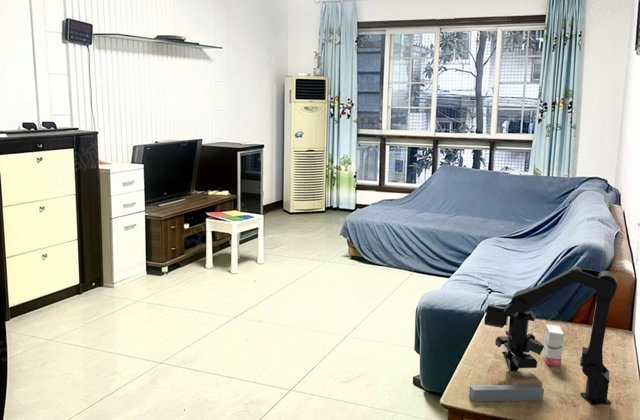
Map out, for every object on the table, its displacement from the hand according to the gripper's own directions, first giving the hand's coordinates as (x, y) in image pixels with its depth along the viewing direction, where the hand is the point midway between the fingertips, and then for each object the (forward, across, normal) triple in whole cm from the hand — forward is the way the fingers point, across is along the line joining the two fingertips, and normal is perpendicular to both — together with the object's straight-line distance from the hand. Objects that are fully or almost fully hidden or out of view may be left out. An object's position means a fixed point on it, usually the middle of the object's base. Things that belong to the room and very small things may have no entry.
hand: (512, 376), depth 195 cm
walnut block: (+2, -6, -1) cm, 6 cm away
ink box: (+2, +15, -21) cm, 26 cm away
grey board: (+2, -11, +7) cm, 13 cm away
